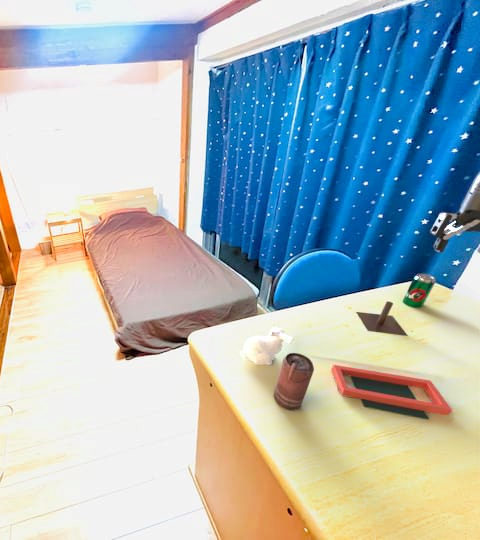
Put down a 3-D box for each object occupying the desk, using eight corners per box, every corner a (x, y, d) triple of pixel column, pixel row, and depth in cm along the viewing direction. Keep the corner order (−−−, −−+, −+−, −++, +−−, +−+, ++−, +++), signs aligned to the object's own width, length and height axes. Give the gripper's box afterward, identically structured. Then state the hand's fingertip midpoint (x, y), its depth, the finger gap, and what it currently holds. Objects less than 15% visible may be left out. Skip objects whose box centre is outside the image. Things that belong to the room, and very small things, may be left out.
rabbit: (271, 345, 87) (279, 315, 81) (291, 369, 78) (300, 337, 73) (234, 351, 86) (239, 321, 80) (249, 375, 78) (256, 343, 72)
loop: (331, 369, 77) (333, 364, 76) (426, 385, 70) (430, 380, 69) (341, 395, 70) (343, 390, 69) (448, 415, 63) (452, 410, 62)
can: (269, 402, 70) (279, 363, 64) (278, 386, 74) (289, 347, 67) (295, 417, 66) (310, 377, 60) (304, 399, 70) (318, 360, 63)
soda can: (425, 310, 94) (441, 280, 89) (407, 310, 95) (423, 280, 90) (413, 302, 99) (428, 272, 93) (397, 301, 100) (411, 272, 94)
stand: (390, 318, 93) (402, 295, 88) (406, 338, 84) (419, 315, 80) (354, 314, 96) (363, 292, 91) (366, 333, 88) (376, 310, 83)
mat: (401, 377, 73) (402, 376, 73) (428, 419, 63) (429, 418, 63) (346, 368, 77) (347, 367, 77) (364, 406, 67) (364, 405, 67)
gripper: (523, 185, 65) (485, 247, 73) (443, 186, 70) (416, 245, 78) (553, 193, 59) (509, 260, 67) (464, 193, 64) (432, 256, 72)
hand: (459, 252), depth 72 cm, fingers open, 8 cm apart
